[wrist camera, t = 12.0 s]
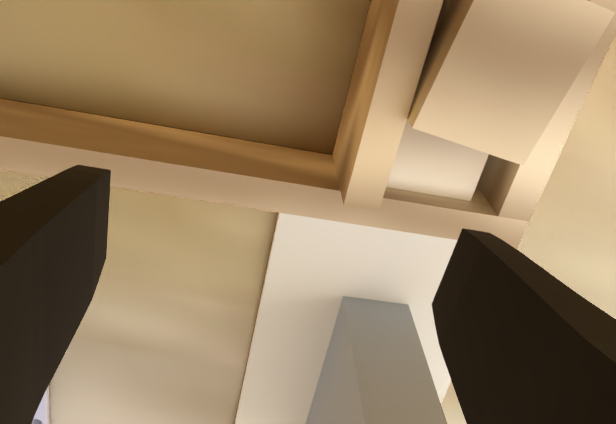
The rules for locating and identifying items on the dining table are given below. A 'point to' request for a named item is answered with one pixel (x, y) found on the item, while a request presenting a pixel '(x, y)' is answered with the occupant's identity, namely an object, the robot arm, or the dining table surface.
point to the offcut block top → (503, 70)
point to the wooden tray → (305, 164)
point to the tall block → (375, 369)
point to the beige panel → (332, 306)
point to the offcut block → (435, 166)
